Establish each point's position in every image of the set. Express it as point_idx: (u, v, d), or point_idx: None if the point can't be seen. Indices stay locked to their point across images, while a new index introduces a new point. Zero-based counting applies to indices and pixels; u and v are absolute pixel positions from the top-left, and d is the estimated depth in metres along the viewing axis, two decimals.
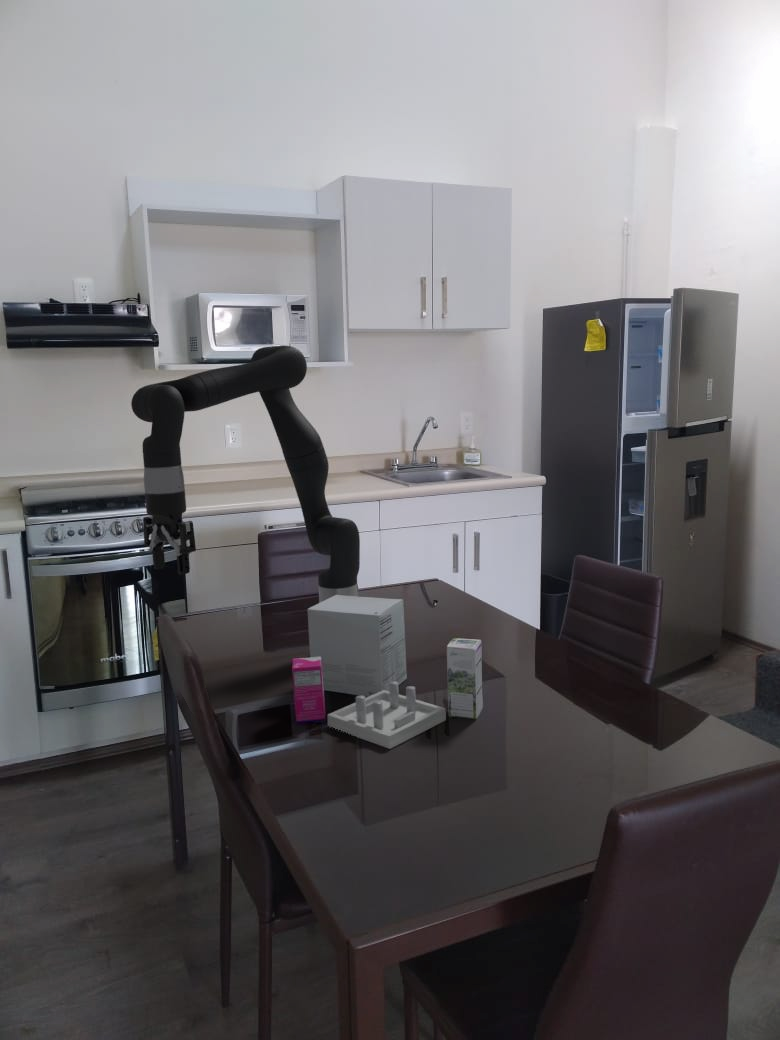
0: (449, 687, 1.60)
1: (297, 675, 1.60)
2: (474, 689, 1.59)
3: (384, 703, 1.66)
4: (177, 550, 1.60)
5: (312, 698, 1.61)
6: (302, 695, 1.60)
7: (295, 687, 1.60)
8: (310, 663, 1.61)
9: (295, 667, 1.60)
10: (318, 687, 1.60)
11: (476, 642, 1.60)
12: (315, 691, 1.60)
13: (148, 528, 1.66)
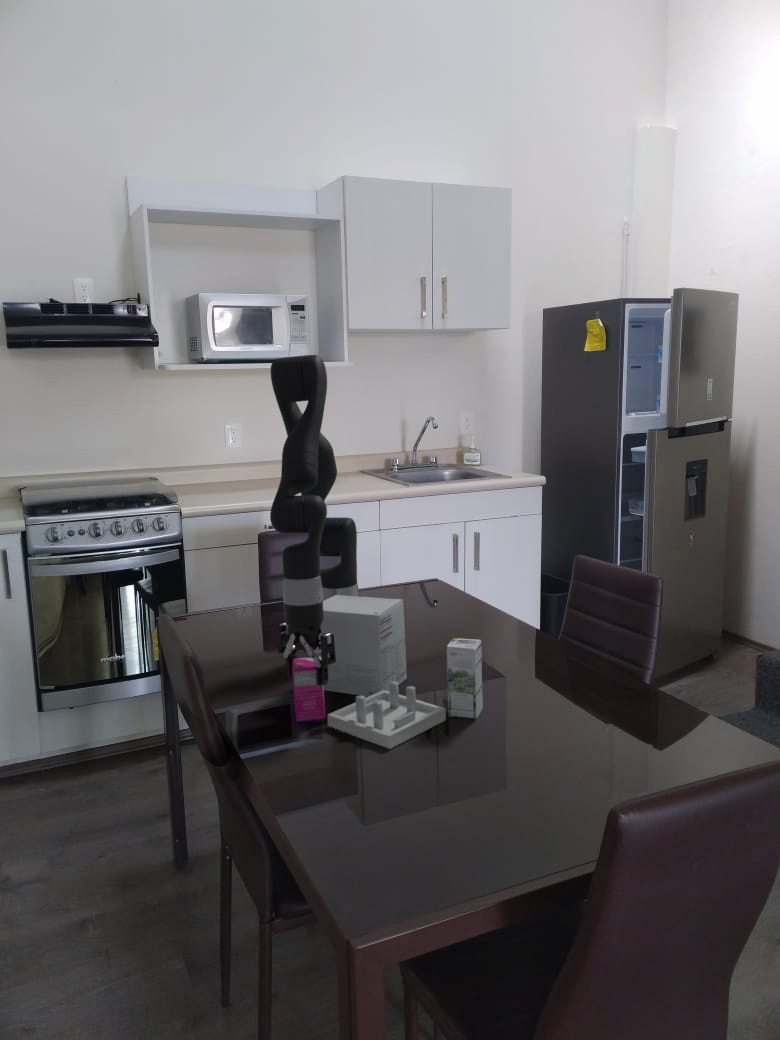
0: (449, 687, 1.60)
1: (297, 675, 1.60)
2: (474, 689, 1.59)
3: (384, 703, 1.66)
4: (317, 662, 1.58)
5: (312, 698, 1.61)
6: (302, 695, 1.60)
7: (295, 687, 1.60)
8: (310, 663, 1.61)
9: (295, 667, 1.60)
10: (318, 687, 1.60)
11: (476, 642, 1.60)
12: (315, 691, 1.60)
13: (282, 635, 1.65)
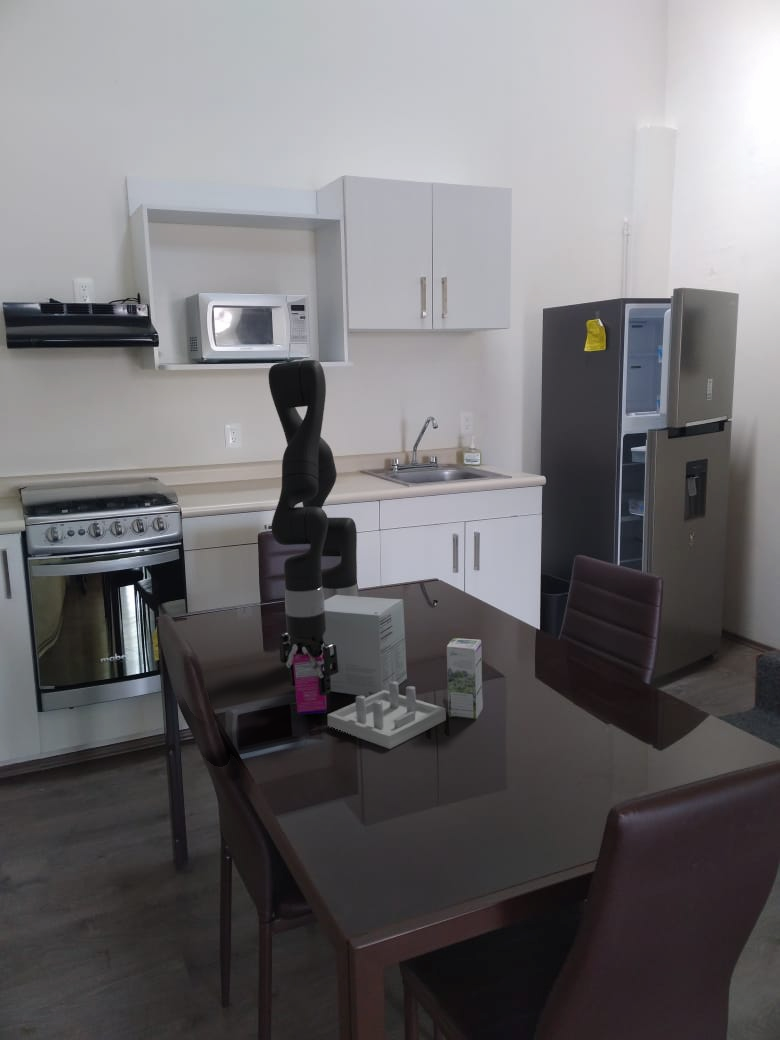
0: (449, 687, 1.60)
1: (298, 666, 1.59)
2: (474, 689, 1.59)
3: (384, 703, 1.66)
4: (319, 672, 1.59)
5: (313, 689, 1.61)
6: (303, 686, 1.60)
7: (296, 678, 1.60)
8: None
9: (296, 658, 1.60)
10: None
11: (476, 642, 1.60)
12: (316, 682, 1.60)
13: (285, 645, 1.65)
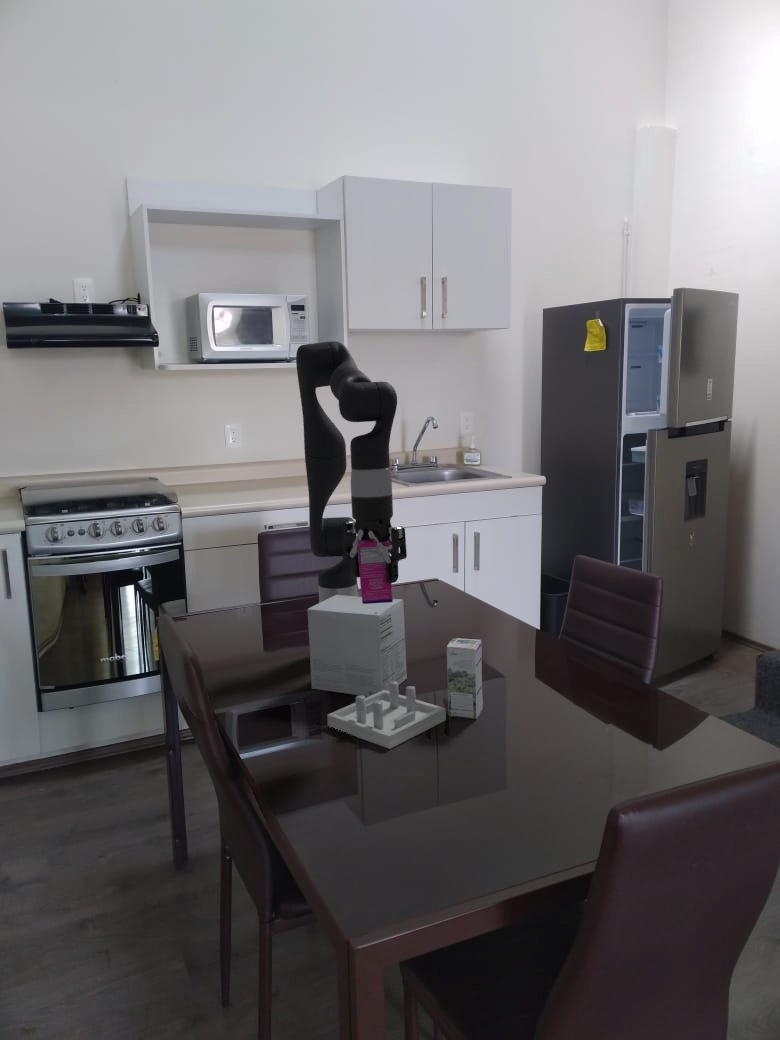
0: (449, 687, 1.60)
1: (364, 551, 1.51)
2: (474, 689, 1.59)
3: (384, 703, 1.66)
4: (387, 557, 1.50)
5: (379, 576, 1.52)
6: (369, 573, 1.52)
7: (361, 564, 1.52)
8: None
9: (361, 543, 1.51)
10: None
11: (476, 642, 1.60)
12: (382, 568, 1.52)
13: (348, 534, 1.57)
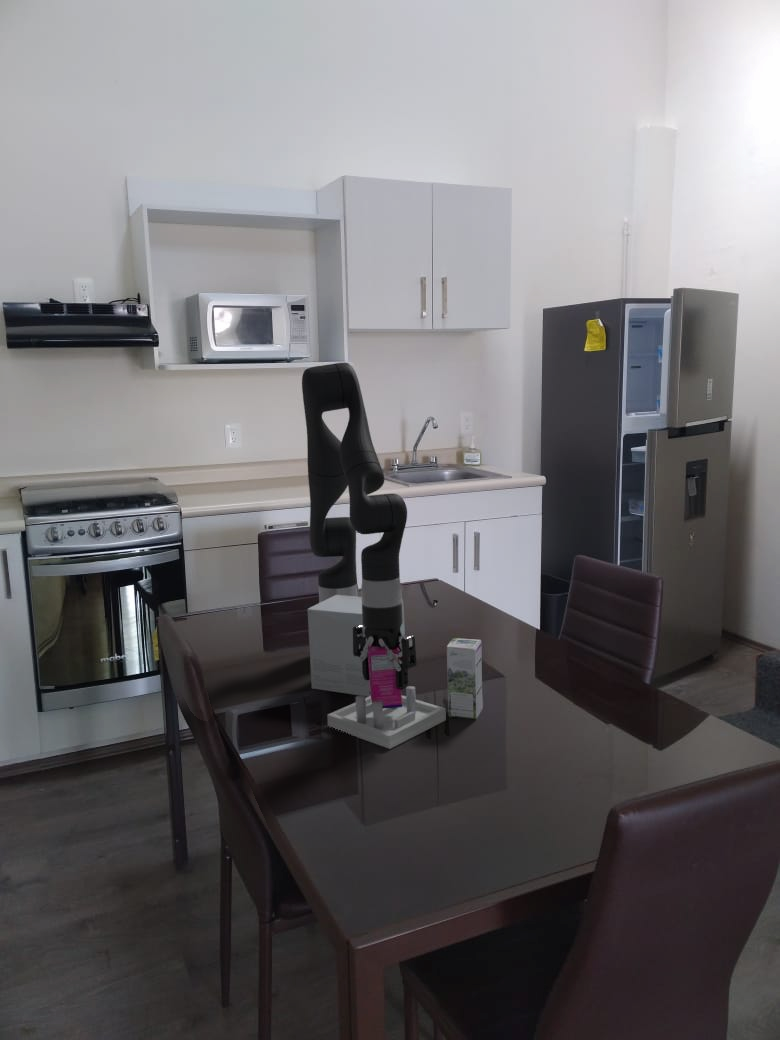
0: (449, 687, 1.60)
1: (375, 659, 1.55)
2: (474, 689, 1.59)
3: None
4: (397, 665, 1.54)
5: (389, 683, 1.56)
6: (379, 680, 1.55)
7: (372, 671, 1.55)
8: None
9: (372, 651, 1.55)
10: None
11: (476, 642, 1.60)
12: (392, 675, 1.55)
13: (358, 638, 1.60)
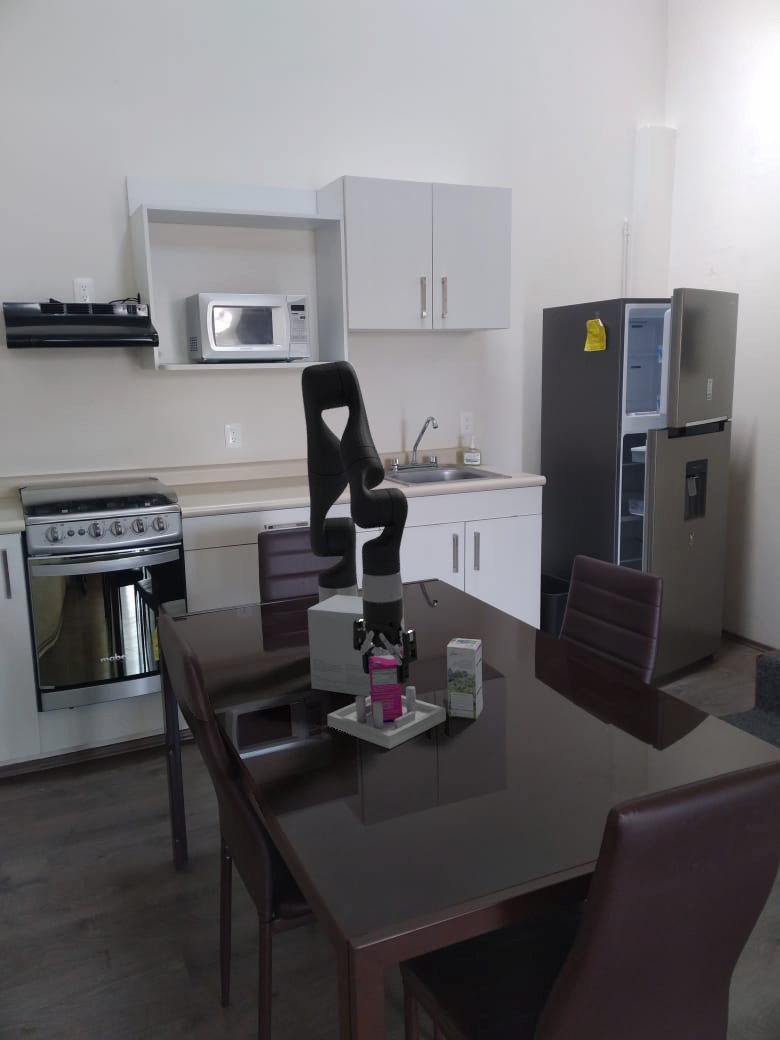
0: (449, 687, 1.60)
1: (376, 674, 1.55)
2: (474, 689, 1.59)
3: None
4: (398, 659, 1.54)
5: (390, 697, 1.56)
6: (380, 694, 1.56)
7: (373, 686, 1.56)
8: (387, 661, 1.57)
9: (373, 665, 1.55)
10: (397, 686, 1.56)
11: (476, 642, 1.60)
12: (393, 690, 1.56)
13: (359, 632, 1.60)
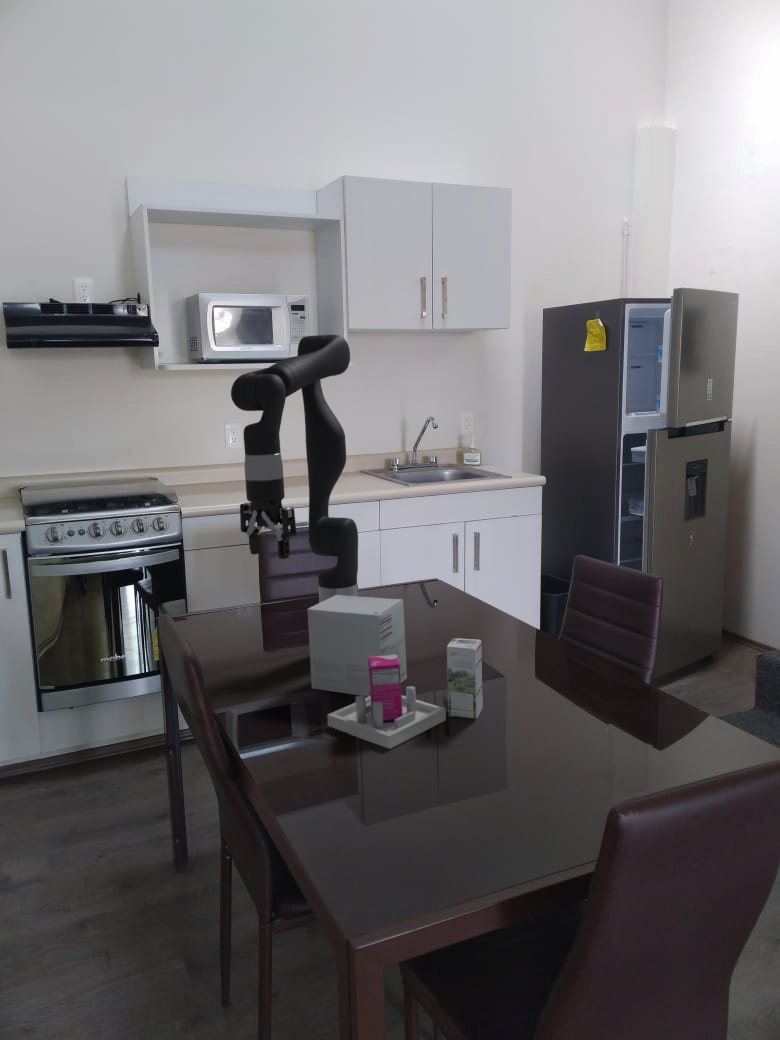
0: (449, 687, 1.60)
1: (375, 674, 1.55)
2: (474, 689, 1.59)
3: None
4: (278, 535, 1.64)
5: (390, 697, 1.56)
6: (380, 694, 1.56)
7: (373, 686, 1.56)
8: (387, 661, 1.57)
9: (373, 665, 1.55)
10: (397, 686, 1.56)
11: (476, 642, 1.60)
12: (393, 690, 1.56)
13: (245, 514, 1.70)
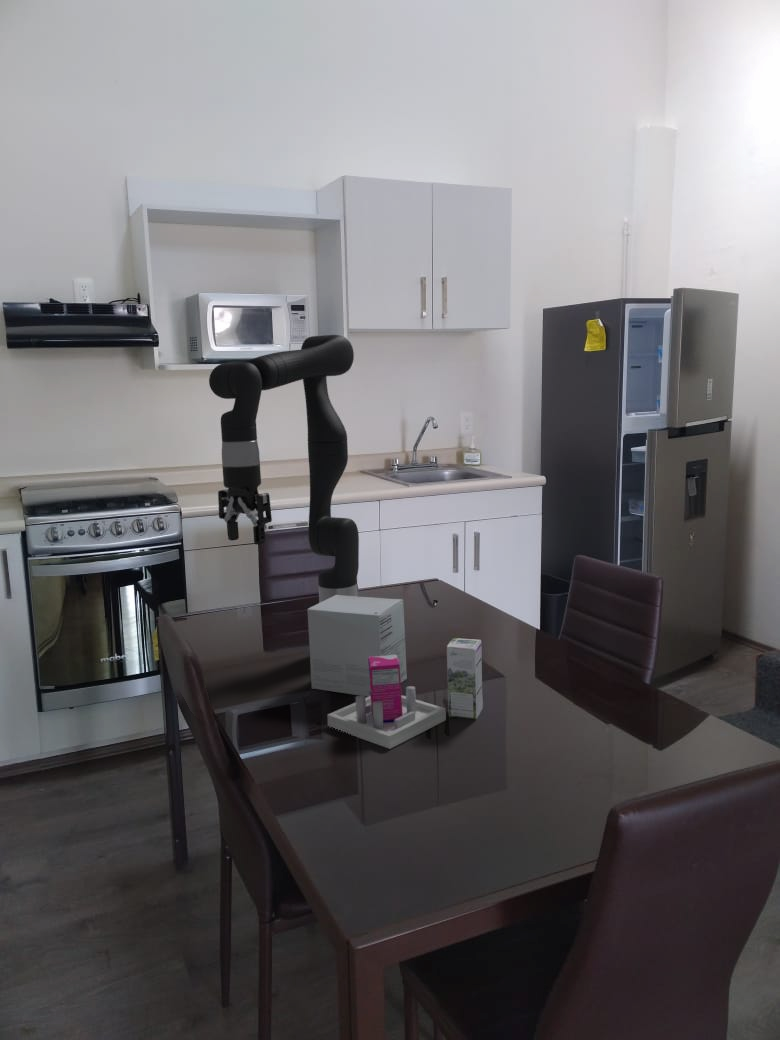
0: (449, 687, 1.60)
1: (375, 674, 1.55)
2: (474, 689, 1.59)
3: None
4: (254, 521, 1.67)
5: (390, 697, 1.56)
6: (380, 694, 1.56)
7: (373, 686, 1.56)
8: (387, 661, 1.57)
9: (373, 665, 1.55)
10: (397, 686, 1.56)
11: (476, 642, 1.60)
12: (393, 690, 1.56)
13: (223, 501, 1.73)
